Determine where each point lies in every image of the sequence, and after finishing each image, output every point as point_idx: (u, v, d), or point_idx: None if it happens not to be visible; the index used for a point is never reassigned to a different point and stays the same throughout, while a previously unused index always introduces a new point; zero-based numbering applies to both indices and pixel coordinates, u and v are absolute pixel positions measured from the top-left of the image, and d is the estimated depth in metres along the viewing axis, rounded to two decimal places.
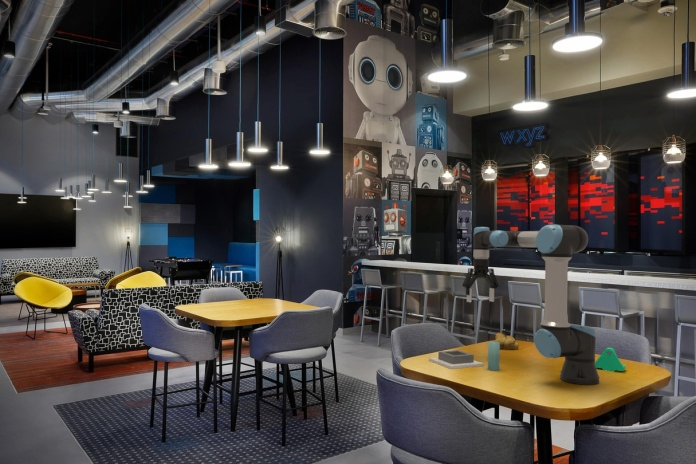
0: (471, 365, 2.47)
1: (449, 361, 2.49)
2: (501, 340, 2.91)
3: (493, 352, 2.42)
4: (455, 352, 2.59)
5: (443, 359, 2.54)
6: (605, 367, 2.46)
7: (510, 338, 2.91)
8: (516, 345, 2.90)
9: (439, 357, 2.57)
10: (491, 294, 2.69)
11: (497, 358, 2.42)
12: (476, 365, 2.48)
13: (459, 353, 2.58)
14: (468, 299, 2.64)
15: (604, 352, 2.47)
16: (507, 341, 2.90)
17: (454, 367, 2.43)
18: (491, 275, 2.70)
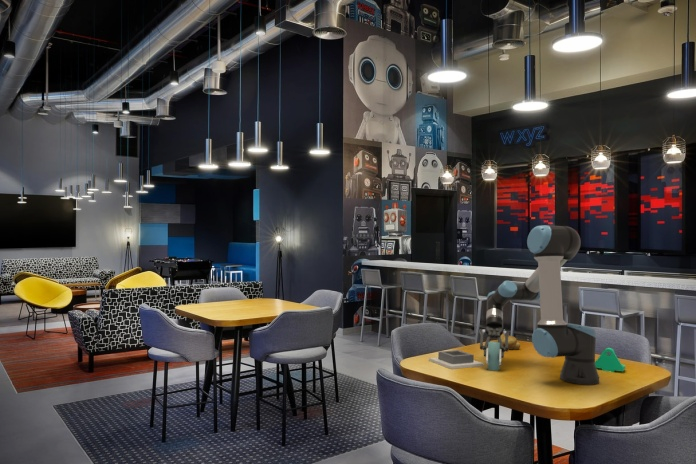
0: (471, 365, 2.47)
1: (449, 361, 2.49)
2: (502, 340, 2.91)
3: (493, 352, 2.42)
4: (455, 352, 2.59)
5: (443, 359, 2.54)
6: (605, 367, 2.46)
7: (511, 338, 2.91)
8: (517, 345, 2.90)
9: (439, 357, 2.57)
10: (499, 356, 2.42)
11: (497, 358, 2.42)
12: (476, 365, 2.48)
13: (459, 353, 2.58)
14: (486, 359, 2.42)
15: (604, 352, 2.46)
16: (508, 341, 2.90)
17: (454, 367, 2.43)
18: (505, 337, 2.48)
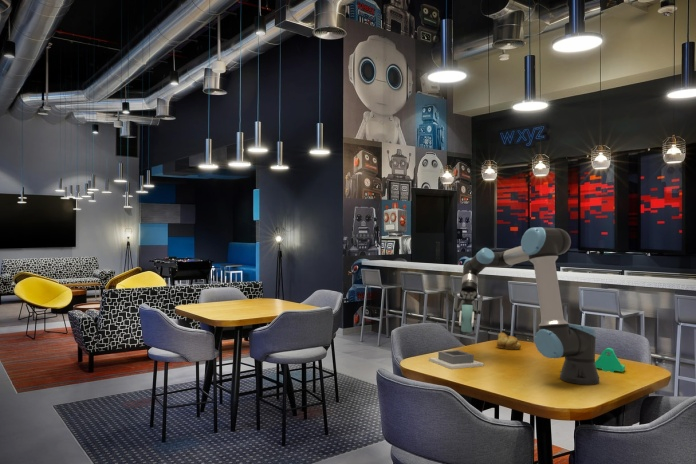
0: (471, 365, 2.47)
1: (449, 361, 2.49)
2: (503, 340, 2.91)
3: (466, 314, 2.51)
4: (455, 352, 2.59)
5: (443, 359, 2.54)
6: (605, 367, 2.45)
7: (512, 338, 2.91)
8: (518, 345, 2.90)
9: (439, 357, 2.57)
10: (472, 318, 2.51)
11: (470, 320, 2.51)
12: (476, 365, 2.48)
13: (459, 353, 2.58)
14: (459, 321, 2.51)
15: (603, 352, 2.46)
16: (509, 341, 2.90)
17: (454, 367, 2.43)
18: None
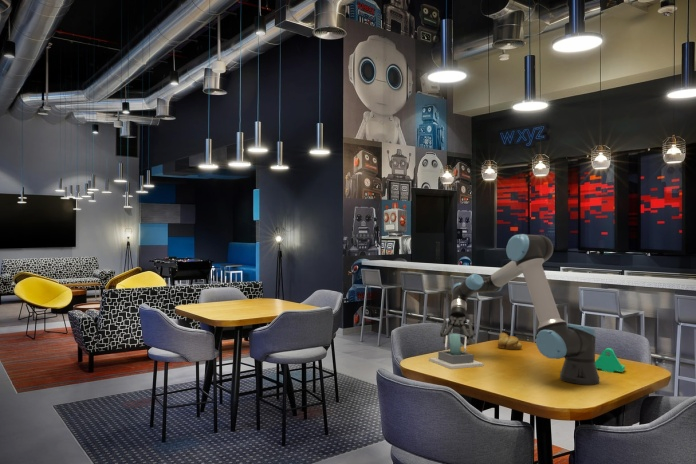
0: (471, 365, 2.47)
1: (449, 361, 2.49)
2: (503, 340, 2.91)
3: (454, 344, 2.52)
4: None
5: (443, 359, 2.54)
6: (604, 367, 2.45)
7: (513, 338, 2.91)
8: (519, 345, 2.90)
9: (439, 357, 2.57)
10: None
11: (458, 349, 2.52)
12: (476, 365, 2.48)
13: None
14: (445, 346, 2.54)
15: (603, 353, 2.46)
16: (509, 341, 2.90)
17: (454, 367, 2.43)
18: None
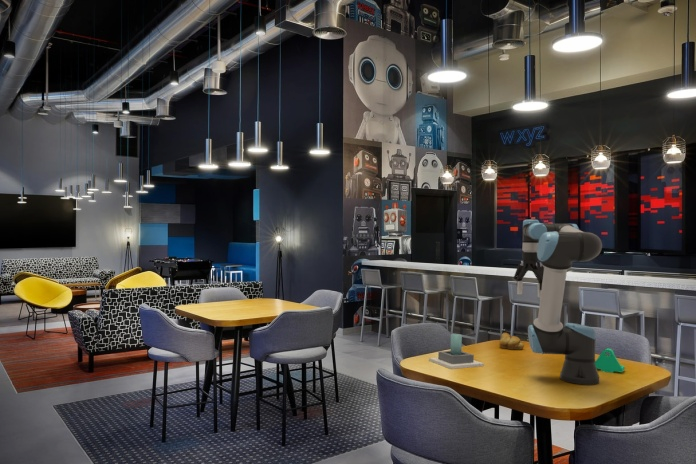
0: (471, 365, 2.47)
1: (449, 361, 2.49)
2: (505, 340, 2.91)
3: (455, 343, 2.52)
4: None
5: (443, 359, 2.54)
6: (604, 368, 2.44)
7: (514, 338, 2.91)
8: (520, 345, 2.90)
9: (439, 357, 2.57)
10: None
11: (459, 350, 2.53)
12: (476, 365, 2.48)
13: None
14: None
15: (603, 353, 2.45)
16: (511, 341, 2.90)
17: (454, 367, 2.43)
18: None
